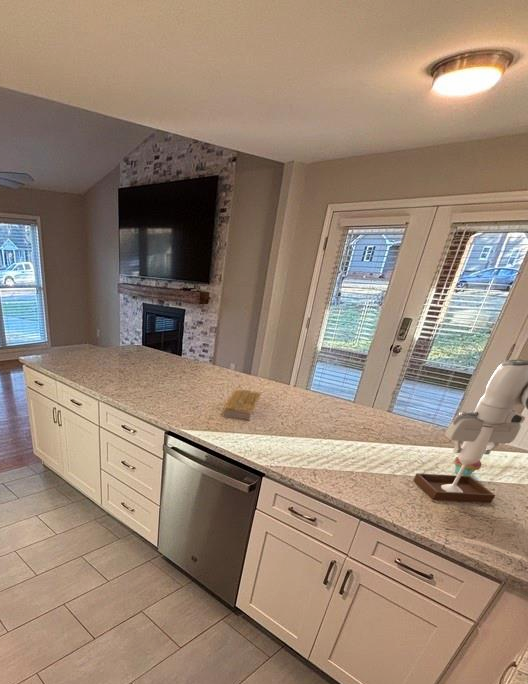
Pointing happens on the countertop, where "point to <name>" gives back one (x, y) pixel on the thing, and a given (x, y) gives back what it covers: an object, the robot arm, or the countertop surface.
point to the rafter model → (241, 404)
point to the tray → (466, 483)
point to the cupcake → (468, 469)
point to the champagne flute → (470, 455)
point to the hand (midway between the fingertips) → (470, 453)
